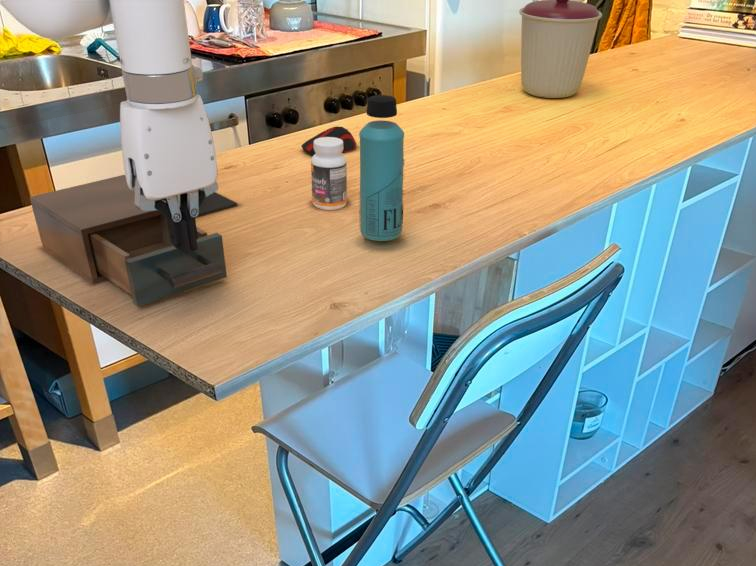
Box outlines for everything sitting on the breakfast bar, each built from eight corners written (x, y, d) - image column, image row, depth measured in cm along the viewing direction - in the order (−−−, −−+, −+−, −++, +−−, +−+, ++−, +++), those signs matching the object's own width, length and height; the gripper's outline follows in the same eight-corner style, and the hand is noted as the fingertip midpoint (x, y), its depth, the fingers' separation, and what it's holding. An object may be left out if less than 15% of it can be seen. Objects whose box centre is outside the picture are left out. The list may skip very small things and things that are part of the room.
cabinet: (187, 256, 117) (179, 203, 112) (93, 285, 109) (80, 229, 104) (133, 225, 125) (124, 174, 121) (43, 249, 118) (29, 196, 113)
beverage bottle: (382, 255, 118) (384, 106, 105) (349, 242, 121) (347, 96, 108) (411, 242, 122) (417, 97, 109) (379, 230, 125) (380, 88, 112)
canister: (605, 97, 187) (624, -10, 174) (543, 107, 180) (558, -4, 167) (555, 80, 199) (569, -22, 185) (495, 88, 192) (505, -17, 178)
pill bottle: (305, 204, 133) (302, 140, 127) (332, 196, 136) (330, 133, 130) (327, 214, 130) (325, 149, 124) (354, 205, 133) (353, 141, 127)
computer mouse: (297, 152, 154) (296, 130, 151) (341, 141, 159) (340, 119, 157) (318, 160, 150) (317, 138, 148) (362, 149, 156) (362, 127, 153)
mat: (173, 224, 126) (172, 220, 125) (134, 203, 132) (134, 199, 132) (237, 206, 132) (237, 203, 132) (197, 187, 139) (197, 183, 138)
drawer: (246, 288, 107) (241, 245, 103) (156, 319, 100) (147, 274, 96) (170, 244, 118) (164, 204, 114) (85, 269, 111) (75, 228, 107)
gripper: (200, 69, 95) (219, 225, 107) (81, 90, 87) (116, 255, 99) (236, 81, 91) (252, 241, 103) (114, 104, 83) (147, 275, 95)
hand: (185, 248), depth 101 cm, fingers closed
